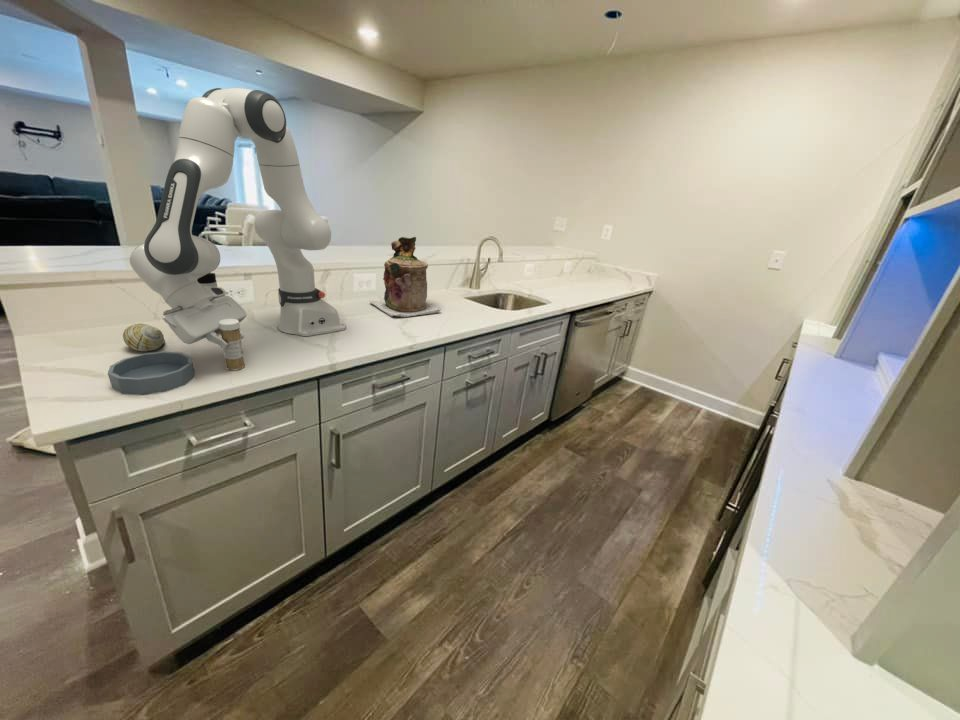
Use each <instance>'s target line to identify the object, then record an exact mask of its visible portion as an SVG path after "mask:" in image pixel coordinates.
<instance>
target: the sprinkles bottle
mask: <svg viewBox="0 0 960 720" xmlns="http://www.w3.org/2000/svg"><path fill="white" fill-rule="evenodd" d="M240 327H241V325H240V323H239V321H238V320H237V319H223V320H220V321H219V329H220V331H221V334H220V336H221V339H226V340H227V341H228V342H229V343H230V345H228V346H227V347H226V348H224V349H223V356H224V359H225V368H226V369H227V370H230V371H238V370H242V369H243V368H245V366H246V363H245V359H244V357H245V356H244V350H243V349H244V348H243V343H242V339H241V336H240V332H241V328H240ZM239 329H240V330H239Z"/></svg>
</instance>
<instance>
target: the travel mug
mask: <svg viewBox="0 0 960 720" xmlns="http://www.w3.org/2000/svg"><path fill="white" fill-rule="evenodd" d="M197 281H198V283H199V284H200V285H201V286H208V287H218V282H217V276H216V273H214V272H210V273H209V274H207V275H205V276H203V277H201V278H198V279H197ZM216 334H217V335H221V331H219V332H217V333H216Z"/></svg>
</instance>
